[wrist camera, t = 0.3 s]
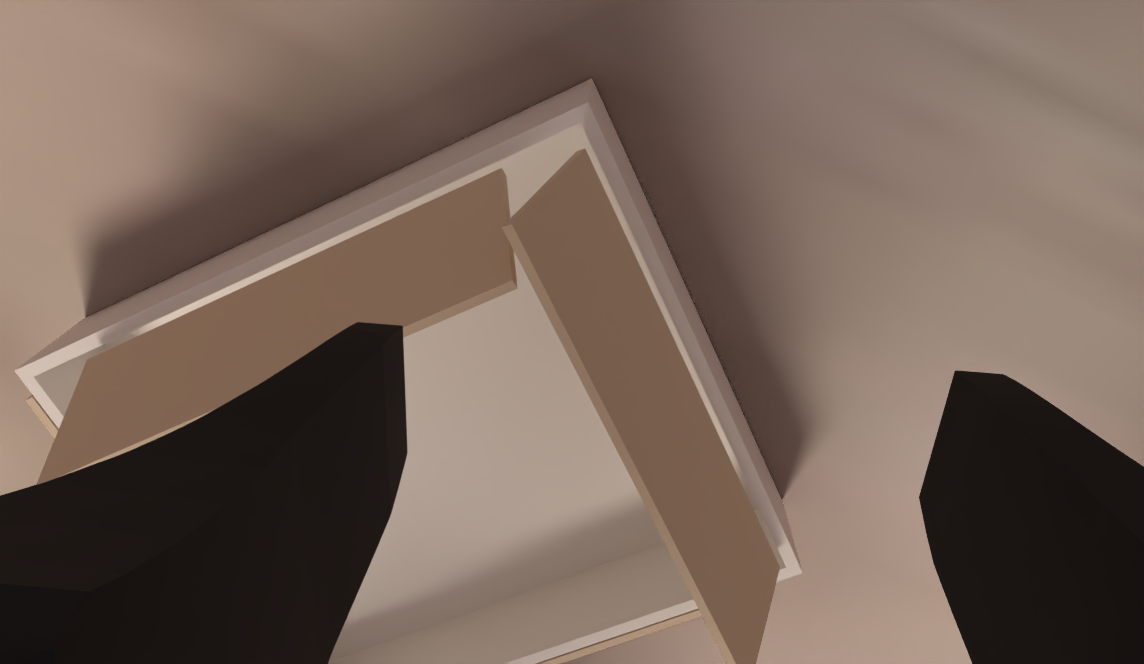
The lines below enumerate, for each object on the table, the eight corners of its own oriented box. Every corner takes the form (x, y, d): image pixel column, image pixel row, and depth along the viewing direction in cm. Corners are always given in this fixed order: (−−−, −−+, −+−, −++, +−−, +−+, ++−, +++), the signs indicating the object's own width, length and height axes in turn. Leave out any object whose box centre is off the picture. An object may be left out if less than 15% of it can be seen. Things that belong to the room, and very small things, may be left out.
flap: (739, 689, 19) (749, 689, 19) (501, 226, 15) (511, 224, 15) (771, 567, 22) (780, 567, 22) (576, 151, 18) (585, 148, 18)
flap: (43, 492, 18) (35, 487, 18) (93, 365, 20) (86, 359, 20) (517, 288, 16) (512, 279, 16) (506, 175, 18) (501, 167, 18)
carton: (327, 671, 28) (295, 753, 25) (76, 322, 24) (5, 374, 21) (785, 508, 25) (806, 580, 22) (591, 77, 21) (588, 102, 18)
